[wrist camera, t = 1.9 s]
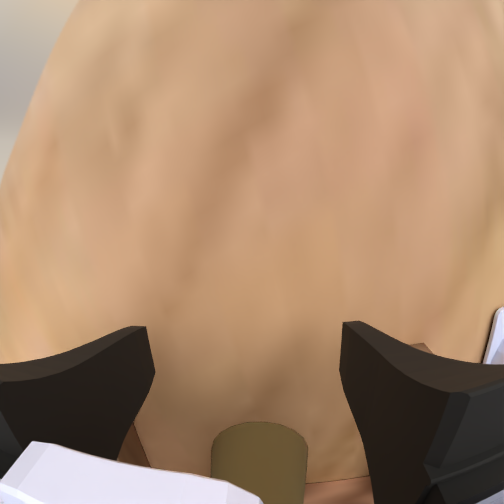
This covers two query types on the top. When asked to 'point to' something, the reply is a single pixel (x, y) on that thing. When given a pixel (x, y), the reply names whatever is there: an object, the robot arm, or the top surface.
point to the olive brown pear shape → (262, 461)
